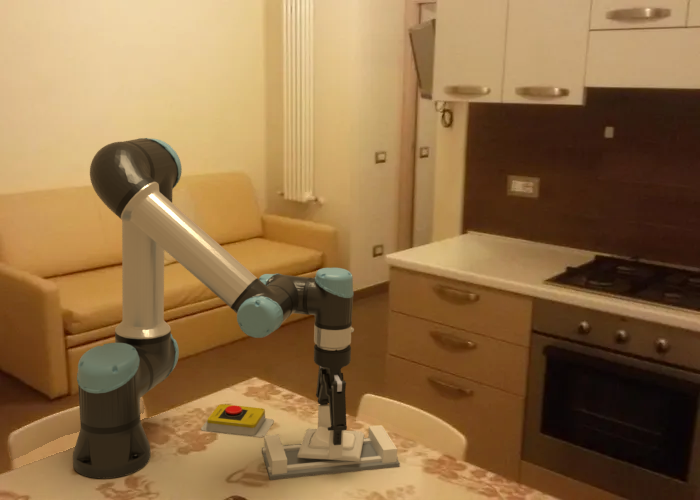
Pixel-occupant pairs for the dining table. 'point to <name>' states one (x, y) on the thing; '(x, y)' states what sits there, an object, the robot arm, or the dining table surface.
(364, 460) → the rail board
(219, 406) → the emergency button
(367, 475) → the dining table surface
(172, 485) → the dining table surface
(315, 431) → the light switch
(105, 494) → the dining table surface
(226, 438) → the dining table surface
